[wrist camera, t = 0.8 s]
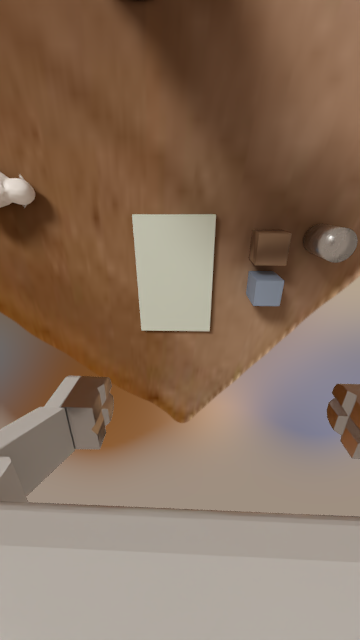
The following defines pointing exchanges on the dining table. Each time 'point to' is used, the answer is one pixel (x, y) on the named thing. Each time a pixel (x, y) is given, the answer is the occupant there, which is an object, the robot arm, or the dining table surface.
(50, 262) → the dining table surface
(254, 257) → the walnut block
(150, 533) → the robot arm
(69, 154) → the dining table surface
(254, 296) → the slate blue block
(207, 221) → the sage board
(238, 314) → the dining table surface
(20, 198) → the white figurine
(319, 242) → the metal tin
